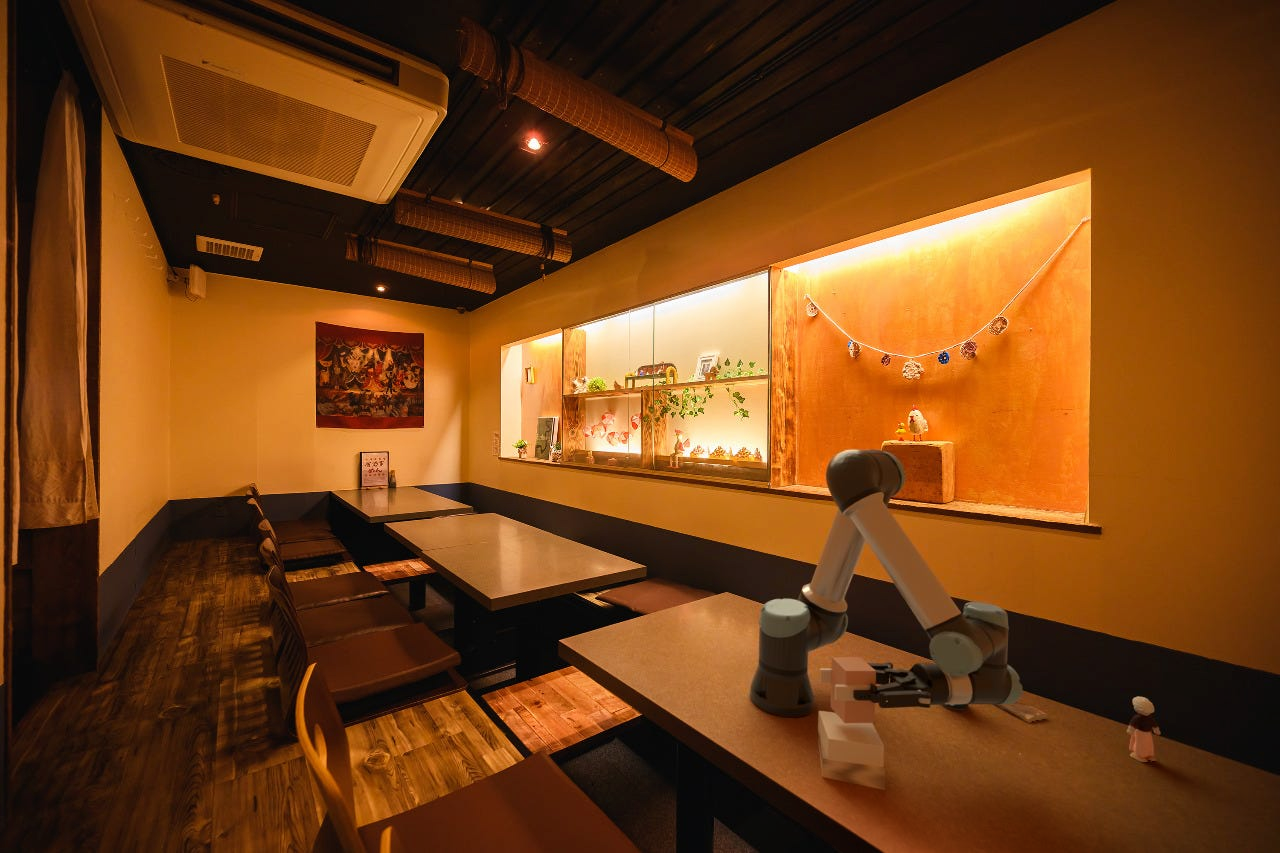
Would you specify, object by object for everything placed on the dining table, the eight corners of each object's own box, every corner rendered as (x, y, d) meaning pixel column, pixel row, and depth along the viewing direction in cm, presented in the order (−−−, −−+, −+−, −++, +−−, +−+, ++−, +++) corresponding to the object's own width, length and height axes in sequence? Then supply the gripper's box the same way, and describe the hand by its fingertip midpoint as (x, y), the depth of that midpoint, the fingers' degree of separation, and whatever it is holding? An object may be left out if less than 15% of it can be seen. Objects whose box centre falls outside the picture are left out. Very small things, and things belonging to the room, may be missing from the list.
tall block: (844, 723, 97) (846, 671, 97) (830, 706, 103) (831, 657, 103) (874, 722, 98) (875, 670, 98) (858, 706, 104) (860, 657, 104)
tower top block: (827, 759, 96) (828, 738, 96) (817, 729, 106) (818, 710, 106) (883, 767, 95) (884, 746, 95) (868, 736, 105) (868, 716, 105)
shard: (983, 701, 128) (983, 694, 129) (1005, 697, 131) (1005, 690, 131) (1027, 725, 118) (1027, 717, 118) (1050, 720, 120) (1050, 713, 120)
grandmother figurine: (1140, 749, 109) (1141, 690, 110) (1163, 760, 106) (1165, 699, 106) (1118, 756, 107) (1120, 695, 107) (1141, 767, 103) (1143, 705, 103)
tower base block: (822, 779, 97) (822, 758, 97) (818, 745, 107) (818, 726, 107) (884, 792, 94) (885, 770, 94) (874, 756, 104) (875, 737, 104)
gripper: (972, 729, 92) (850, 731, 90) (909, 679, 111) (807, 679, 109) (973, 688, 92) (851, 689, 91) (910, 645, 111) (808, 644, 110)
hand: (827, 684), depth 100 cm, fingers closed on tall block, 6 cm apart
